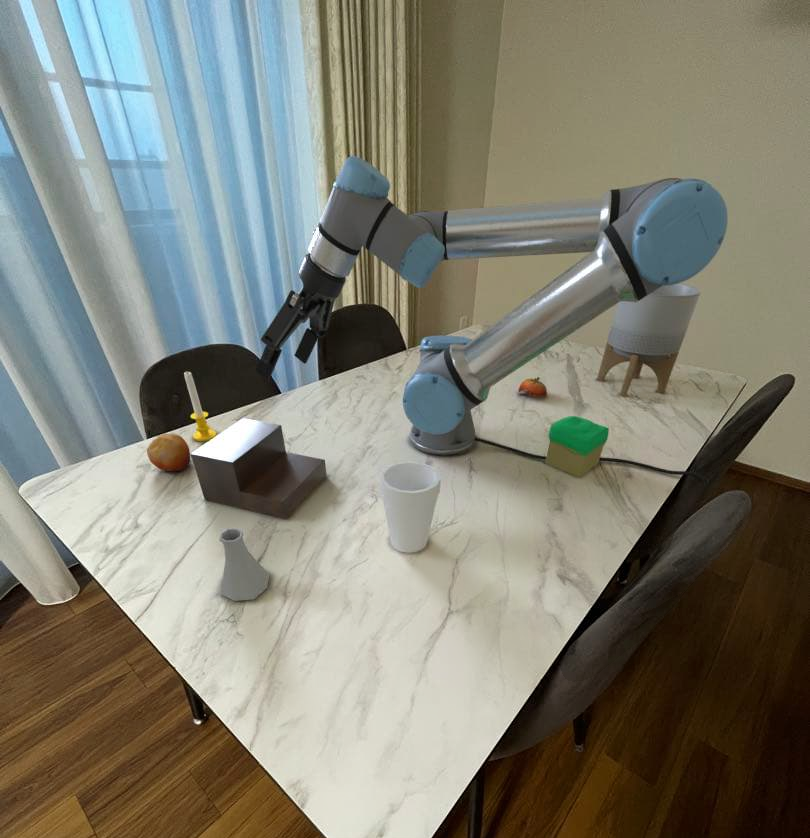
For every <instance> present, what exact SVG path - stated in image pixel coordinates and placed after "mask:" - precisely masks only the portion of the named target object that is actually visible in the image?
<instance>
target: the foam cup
mask: <svg viewBox="0 0 810 838" xmlns="http://www.w3.org/2000/svg"><path fill="white" fill-rule="evenodd" d="M440 475H441V474H440V472H439V471H438V470H437V469H436V468H435V467H433V466H432V465H430V464H428V463H424V462H421V461H411V460H409V461H408V460H406V461H399V462H394V463H391V464H390V465H387V466H385V467H384V468H383V469H382V471H381V472H380V473H379V484H380V486H379V488H380V495H381V496H382V501H383V507H384V511H385V518H386V525H387V527H388V528H387V529H388V534H389V540H390V545H391V546H392V547H393V548H394V549H395V550H396V551H398V552H401V553H407V554H412V553H417V552H420V551H422V550H423V549H425V548H426V545H428V540H429V536H430V531H431V528H432V523H433V519H434V514H435V508H436V504H437V499H438V495H439V493H440V492H441V491H440V490H441V476H440Z"/></svg>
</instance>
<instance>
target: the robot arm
mask: <svg viewBox="0 0 810 838" xmlns="http://www.w3.org/2000/svg"><path fill="white" fill-rule="evenodd" d="M339 171H340V172H339V174H338V175H337V178H336V180H335V181H334V182H333V185H332V186H333V187H332V189H331V192H330V195H329V197H328V199H327V202H326V204H325V208H324V210H323V213H322V215H321V218H320V220H319V222H318V225H317V227H316V228H315V229H313V231H312V235H313V237H312V240H311V242H310V244H309V247H308V253H306V254H305V256H304V259H303V261H302V263H301V265H300V268H299V271H298V277H299V279H300V280H301V282H302V287H301V289H299V291H298V292H295V290H293V289H292V290H290V291H289V292H288V295H287V297H286V299H285V300H284V303H283V305H282V306H281V307H280V309H279V310H278V312H277V313H276V315H275V316H274V318H273V320H272V321H271V322H270V324H269V326H268V327H267V329H266V330H265V332H264V333H263V335H262V336H261V338H260V341H261V342H262V343H263V344H264V345H265V346H264V349H263V351H262V354H261V357H260V358H259V362H258V364H257V367H256V369H255V372H256V373H257V374H258V375H260V376H261V377H262V378H264V379H265V380H266V381H269V380H271V377H272V375H273V372H274V371H275V368H276V366H277V363H278V361H279V359H280V356H281V354H282V352H283V349H281V348H282V347H283V346H284V345H285V343H286V342H287V341H288V340H289V338H290V337H292V335H293V334H294V332H295V331H296V330H297V329H298V327H299V326H300V324H305V323H306V322H307V321H308V320H309V321H308V322H309V327H307V328H306V329H305V331H304V333H303V335H302V338H301V340H300V342H299V344H298V346H297V349H296V351H295V353H294V355H293V356H294V357H295V358H297V360H299V361H300V362H301V363H303V364H304V365H305V364H307V363H308V361H309V359H310V356H311V354H312V352H313V351H314V348H315V346H316V344H317V342H318V340H319V337H321V338H322V339H323V338H325V336H326V334H327V332H326V331H328V330H329V325H330V321H331V318H332V314H333V310H334V305H335V301H336V299H338V297H339V296H340V295H341V292H342V290H343V288H344V286H345V284H346V282H347V278H346V277H349V276H350V274H351V272H352V270H353V267H354V266H355V263H356V261H357V260H358V257H359V255H360V253H361V250H362V248H365V249H366V251H368V252H369V253H370V254H372V255H373V256H375V257H376V258H377V259H379V260H380V261H381V262H382V263H383V264H385V265H386V266H387V267H388V268H389V269H391V270H392V271H393V272H395V274H397V275H398V276H400V277H401V279H402V280H404V281H407V282H408V283H410V284H411V285H413V286H414V287H415V288H418V289H421V288H424V287H425V286H426V285H427V284H428V282H429V280H430V279H431V277H432V276H433V274H434V273H435V271H436V270H437V268H438V267H439V264H440V263H441V262H443V261H450V260H451V261H452V260H469V259H487V258H505V257H526V256H527V257H528V256H544V255H561V254H562V255H563V254H582V253H584V254H585V253H588V254H587V255H585V256H584V257H583V258H581V259H580V260H579V261H577V262H576V263H574V264H573V265H572V266H570V267H569V268H568V269H567V270H565V271H564V272H563V273H561V274H560V275H559V276H557V277H555V278H554V279H553V280H551V281H550V282H549V283H547V284H546V285H544V286H543V287H542V288H541V289H539V290H538V291H537V292H535V293H533V294H532V295H531V296H530V297H529V298H527V299H526V300H525V301H523V302H522V303H521V304H519V305H518V306H516V307H515V308H514V309H512V310H511V311H509V312H508V313H507V314H505V315H504V316H502V318H500V319H499V320H497V321H496V322H495V323H493V324H492V325H491V326H489V327H488V328H487V329H486V330H484V331H483V332H481V333H480V334H478V335H477V336H476V337H474V338H473V339H472V338H469V337H465V336H458V335H442V334H441V335H428V336H425V337H424V338H422V340H421V341H420V347H419V355H420V356H419V364H418V365H417V367H416V369H415V371H414V372H413V374H412V375H411V377H410V378H409V379H408V381H407V382H406V384H405V387H404V390H403V391H404V392H403V396H402V408H403V411H404V414H405V416H406V418H407V419H408V420H409V422H410V423H411V424H412V425H411V427H410V431H409V432H410V434H409V435H410V436H409V441H410V443H411V445H412V446H413V447H414V448H415V449H417V450H418V451H420V452H423V453H425V454H430V455H433V456H443V457H445V456H446V457H448V456H449V457H450V456H458V455H461V454H465V453H467V452H468V451H470V450H472V449H473V448H474V446H475V444H476V442H478V443H482V444H486V445H489V446H493V447H496V448H499V449H502V450H506V451H510V452H512V453H516V454H519V455H521V456H525V457H528V458H533V459H538V460H543V461H545V460H546V455H539V454H534V453H531V452H527V451H524V450H521V449H517V448H515V447H510V446H507V445H503V444H500V443H498V442H494V441H490V440H487V439H484V438H479V437H477V434H476V433H477V432H476V428H475V424H474V419H473V415H472V411H471V410H472V409H474V408H476V407H478V406H479V405H480V404H482V403H483V402H485V401H486V400H487V399H488V397H489V393H490V389H491V387H493V386H495V385H496V384H497V383H499V382H501V381H502V380H503V379H505V378H507V377H508V376H509V375H511V374H512V373H514V372H515V371H517V370H518V369H520V368H522V367H523V366H524V365H526V364H528V363H529V362H530V361H532V360H533V359H535V358H536V357H538V356H540V355H542V354H543V353H544V352H546V351H547V350H549V349H550V348H552V347H553V346H555V345H557V344H558V343H559V342H561V341H562V340H564V339H566V338H567V337H569V336H570V335H571V334H573V333H574V332H576V331H578V330H579V329H581V328H582V327H584V326H585V325H587V324H588V323H590V322H591V321H593V320H594V319H596V318H597V317H598V316H600V315H602V314H603V313H605V312H606V311H608V310H609V309H611V308H612V307H614V306H616V305H617V303H618V302H620V301H628V302H635V303H636V302H638V301H639V300H641V299H643V298H644V297H646V296H647V295H649V294H650V293H652V292H654V291H655V290H657V289H658V288H660V287H661V286H667V285H673V284H677V283H679V284H681V283H683V282H686V281H687V280H690V279H692V278H694V277H695V276H697V275H698V274H699V273H700V272H701V271H703V270H704V269H705V268H706V267H707V266H708V265H709V264H710V263H711V262H712V261H713V259H714V258H715V257H716V255H717V253H718V251H719V250H720V249H721V246H722V243H723V242H724V239H725V236H726V233H727V229H728V221H729V218H728V216H729V215H728V208H727V204H726V201H725V199H724V198H723V196H722V194H721V193H720V191H718V190H717V189H716V188H715V187H713V186H712V185H711V183H708V182H707V181H705V180H703V179H700V178H678V177H668V178H662V179H659V180H658V179H657V180H654V181H651V182H646V183H643V184H640V185H634V186H629V187H622V188H614V189H607V190H606V191H605V192H604V193H603V194H602V195H601V196H600V197H598V198H597V197H596V198H586V199H585V198H584V199H573V200H572V199H571V200H561V201H548V202H535V203H525V204H524V203H522V204H511V205H500V206H487V207H474V208H462V209H461V208H460V209H451V210H439V211H429V210H420V211H415V212H414V213H412V214H410V215H408V214H407V213H405V212H404V211H402V209H400V208H398V207H397V206H396V205H395V204H394V203H393V202H392V201H391V200H390V199H389V198H388V197H389V191H390V189H391V182H390V181H389V179H388V178H387V177H386V176H385V175H384V174H382V172H381V171H380V170H379V169H377V168H376V167H375V166H374V165H372V164H371V163H370V162H368V161H367V160H365V159H363V158H361V157H359V156H356V155H351V156H349V157H347V158H346V159H345V161H344V163H343V165H342V167H341V169H340V170H339ZM599 462H611V463H621V464H626V465H631V466H636V467H639V468H644V469H647V470H651V471H654V472H659V473H662V474H667V475H674V476H676V475H677V476H690V477H694V478H696V479H697V480H698V481H699V482H700V483H704V484H705V483H706V481H705V479H704V478H703V477H702V476H701V474H698V473H697V472H693V471H687V470H670V469H666V468H665V469H664V468H661V467H658V466H657V467H656V466H654V465H650V464H645V463H643V462H639V461H634V460H628V459H622V458H615V457H601V456H600V459H599Z"/></svg>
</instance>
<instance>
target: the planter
mask: <svg viewBox="0 0 810 838" xmlns="http://www.w3.org/2000/svg"><path fill="white" fill-rule="evenodd" d="M701 293H702V291H701V289H699V288H697V287H695V286H693V285H688V284H684V283H677V284H673V285H667V286H661V287H660V288H658V289H657V290H655V291H654V292H652V293H650V294H649V295H647V296H646V297H644V298H643V299H641V300H639V301H638V302H636V303H635V302H628V301H620V302H618V303H617V304H616V306H615V311H614V314H613V318H612V322H611V325H610V329H609V333H608V335H607V336H608V337H607V341H606V344H605V347H604V350H603V351H604V352H603V354H602V355H603V356H602V358H601V363H600V367H599V369H598V373H597V374H598V375H597V378H596V381H600V382H604V381H605V378H606V377H607V374H608V373H609V372H610V370H611V369H613V368H614V367H616V366H617V365H619V364H622V363H626V362H629V363H628V367H627V370H626V373H625V376H624V379H623V383H622V386H621V389H620V393H619V397H624V398H626V396H627V395H628V392H629V388H630V386H631V383H632V380H633V379H637V380H638V379H639V378H640V375H641V372H642V369H643V366H644V365H645V366H647V367H649V368H650V369H651V370H652V372H653V373H654V374H655V376H656V381H657V389H656V393H657V394H664V393H665V391H666V389H667V386H668V383H669V380H670V378H671V375H672V372H673V369H674V366H675V364H676V362H677V358H678V356H679V352H680V350H681V347H682V344H683V341H684V339H685V337H686V333H687V331H688V328H689V325H690V323H691V320H692V317H693V314H694V312H695V309H696V307H697V305H698V301H699V298H700V296H701Z"/></svg>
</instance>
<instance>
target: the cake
mask: <svg viewBox="0 0 810 838" xmlns="http://www.w3.org/2000/svg"><path fill="white" fill-rule="evenodd" d="M609 431H610V428H609V427H607V426H604V425H600V424H598V423H595V422H593V421H591V420H590V419H587V418H584V417H580V416H578V415H570V416H569V415H568V416H566V417H564V418H561V419H558V420H557V421H555V422H553V423H552V424H551V425H550V427H549V433H548V441H549V442H548V446H547V452H546V455H545V457H546V460H544V463H545V464H546V465H548V466H551V467H554V468H556V469H559V470H561V471H563V472H566V473H567V474H570V475H572V476H575V477H578V478H580V477H581V476H583V475H584V474H585V473H587V472H589V471H590V470H591V469H593V468H594V467H595V466H597V465H598V464H599V463H600V461H599V459H600V457H601V456H602V452H603V449H604V446H605V444H606V443H607V441H608V437H609Z"/></svg>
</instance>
